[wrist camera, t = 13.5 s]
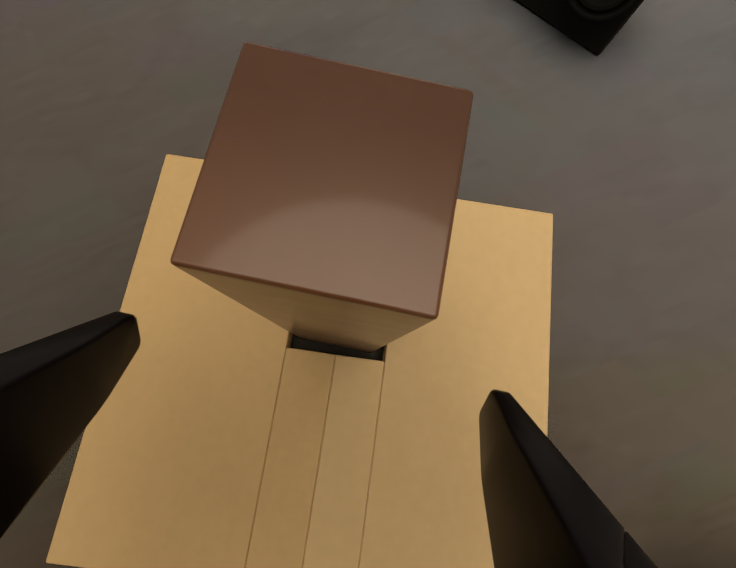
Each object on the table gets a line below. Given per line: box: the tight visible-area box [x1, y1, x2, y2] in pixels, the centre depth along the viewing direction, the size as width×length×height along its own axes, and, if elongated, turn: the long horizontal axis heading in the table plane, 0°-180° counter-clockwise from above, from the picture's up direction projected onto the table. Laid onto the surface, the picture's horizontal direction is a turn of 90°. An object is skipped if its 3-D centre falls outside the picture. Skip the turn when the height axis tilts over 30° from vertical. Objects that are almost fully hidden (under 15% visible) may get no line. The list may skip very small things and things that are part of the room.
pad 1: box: [46, 154, 336, 568], centre depth 19 cm, size 20×11×2 cm, turn 172°
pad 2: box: [302, 199, 553, 568], centre depth 19 cm, size 20×11×2 cm, turn 172°
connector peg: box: [170, 42, 473, 353], centre depth 13 cm, size 4×4×15 cm
